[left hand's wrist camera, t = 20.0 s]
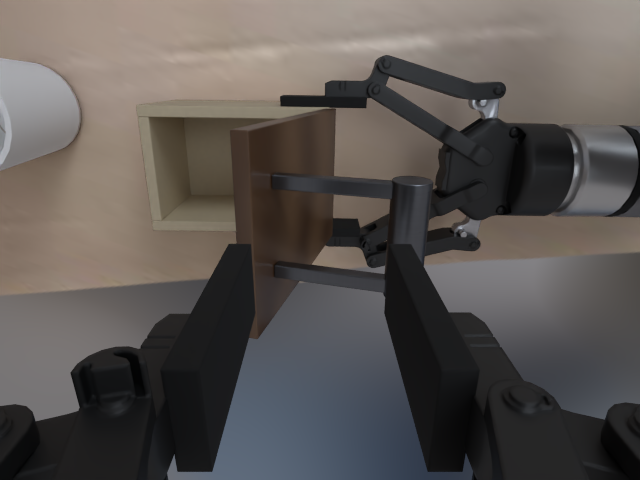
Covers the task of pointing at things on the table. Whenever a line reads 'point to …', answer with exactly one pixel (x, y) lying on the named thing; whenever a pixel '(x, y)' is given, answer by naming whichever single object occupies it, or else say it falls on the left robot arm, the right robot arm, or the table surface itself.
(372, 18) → the table surface
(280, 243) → the lid
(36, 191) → the table surface
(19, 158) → the mug
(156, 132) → the chest
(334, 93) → the right robot arm
